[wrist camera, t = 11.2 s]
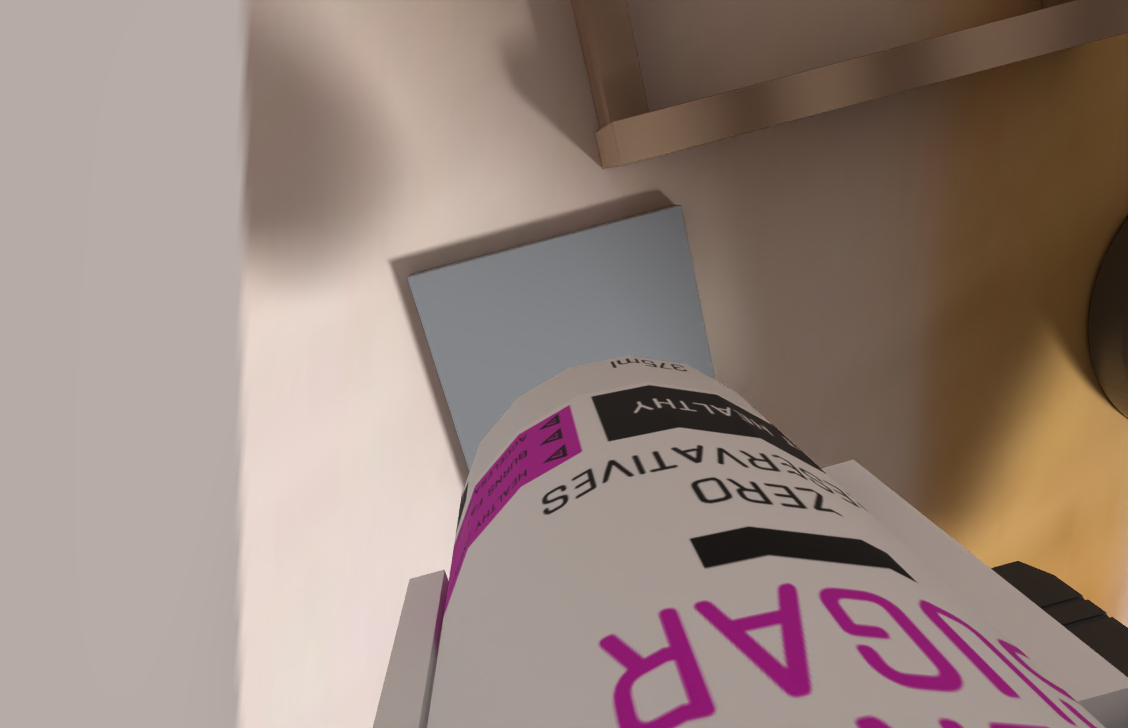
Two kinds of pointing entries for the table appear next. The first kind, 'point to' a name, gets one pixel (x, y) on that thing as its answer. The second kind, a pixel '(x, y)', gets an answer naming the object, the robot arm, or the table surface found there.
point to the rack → (808, 75)
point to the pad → (559, 313)
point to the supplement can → (698, 580)
